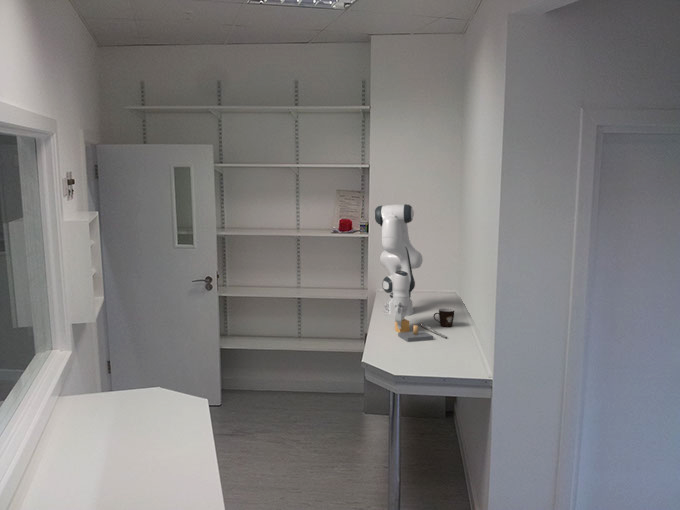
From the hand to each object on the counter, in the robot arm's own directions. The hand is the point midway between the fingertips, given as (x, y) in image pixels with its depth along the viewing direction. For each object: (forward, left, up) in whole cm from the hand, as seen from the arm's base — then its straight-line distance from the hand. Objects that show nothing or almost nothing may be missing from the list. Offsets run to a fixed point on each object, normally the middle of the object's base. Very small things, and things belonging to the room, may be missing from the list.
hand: (400, 327), depth 316 cm
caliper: (+7, +19, -3) cm, 20 cm away
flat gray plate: (+16, +1, -2) cm, 16 cm away
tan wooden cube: (0, +1, -2) cm, 2 cm away
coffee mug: (-1, +26, -3) cm, 26 cm away
